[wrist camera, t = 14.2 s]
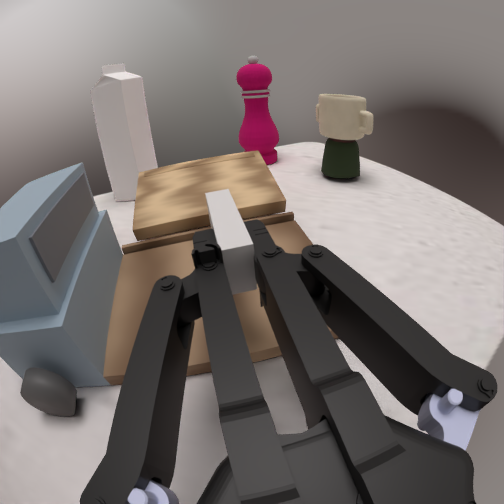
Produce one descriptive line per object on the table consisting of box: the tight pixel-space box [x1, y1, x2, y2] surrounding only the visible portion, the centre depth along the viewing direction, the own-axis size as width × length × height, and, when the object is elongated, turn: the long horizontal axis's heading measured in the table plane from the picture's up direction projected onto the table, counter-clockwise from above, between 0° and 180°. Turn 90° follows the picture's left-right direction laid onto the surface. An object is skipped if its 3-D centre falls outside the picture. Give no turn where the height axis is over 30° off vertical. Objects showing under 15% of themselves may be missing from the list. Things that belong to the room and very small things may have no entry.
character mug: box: [316, 94, 373, 179], centre depth 38 cm, size 11×7×13 cm, turn 33°
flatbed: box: [103, 212, 339, 385], centre depth 22 cm, size 18×15×2 cm
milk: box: [90, 64, 158, 202], centre depth 36 cm, size 6×6×22 cm
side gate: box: [133, 150, 286, 241], centre depth 31 cm, size 16×2×11 cm
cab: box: [0, 163, 123, 417], centre depth 17 cm, size 8×19×12 cm, turn 14°
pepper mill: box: [237, 56, 279, 165], centre depth 44 cm, size 7×7×20 cm
